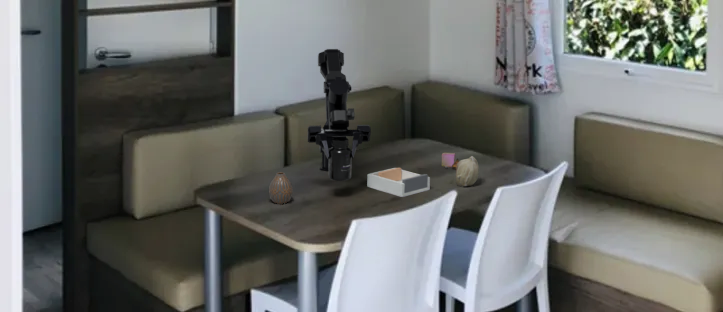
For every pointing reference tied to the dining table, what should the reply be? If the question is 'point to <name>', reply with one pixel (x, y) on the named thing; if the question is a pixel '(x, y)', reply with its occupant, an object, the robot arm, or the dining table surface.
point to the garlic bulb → (467, 172)
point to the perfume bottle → (449, 160)
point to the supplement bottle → (340, 160)
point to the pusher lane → (400, 183)
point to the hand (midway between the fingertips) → (340, 158)
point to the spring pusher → (391, 174)
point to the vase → (280, 189)
